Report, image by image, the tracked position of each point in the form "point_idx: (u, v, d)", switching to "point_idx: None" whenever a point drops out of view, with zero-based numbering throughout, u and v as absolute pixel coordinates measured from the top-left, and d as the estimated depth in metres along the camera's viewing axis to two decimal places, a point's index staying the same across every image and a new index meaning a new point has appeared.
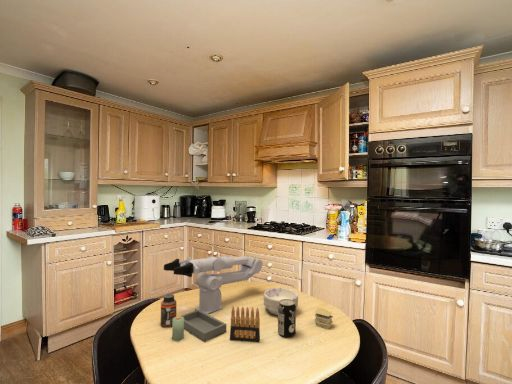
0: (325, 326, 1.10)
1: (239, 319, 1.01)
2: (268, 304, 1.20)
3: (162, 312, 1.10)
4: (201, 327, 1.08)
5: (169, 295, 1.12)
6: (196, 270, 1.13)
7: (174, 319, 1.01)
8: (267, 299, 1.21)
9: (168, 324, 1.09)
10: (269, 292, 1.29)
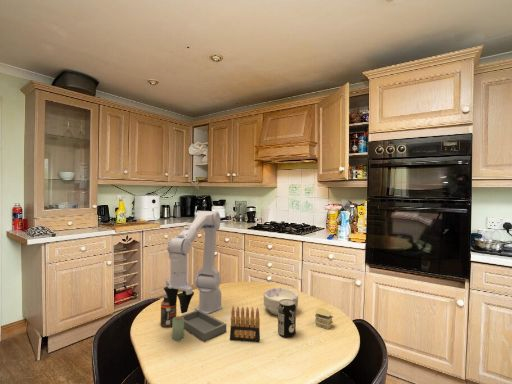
0: (325, 326, 1.10)
1: (239, 319, 1.01)
2: (268, 304, 1.20)
3: (162, 312, 1.10)
4: (201, 327, 1.08)
5: None
6: (189, 291, 0.97)
7: (174, 319, 1.01)
8: (267, 299, 1.21)
9: (168, 324, 1.09)
10: (269, 292, 1.29)
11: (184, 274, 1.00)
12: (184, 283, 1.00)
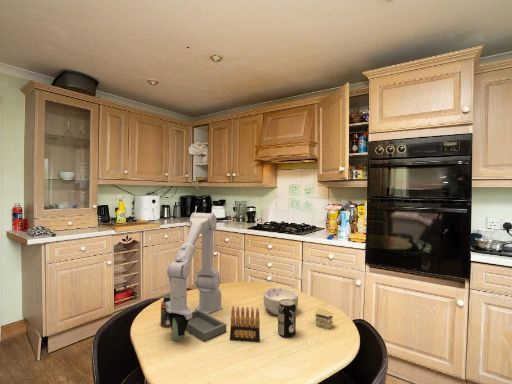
0: (325, 326, 1.10)
1: (239, 319, 1.01)
2: (268, 304, 1.20)
3: (162, 312, 1.10)
4: (201, 327, 1.08)
5: (169, 295, 1.12)
6: (189, 316, 0.97)
7: (174, 319, 1.01)
8: (267, 299, 1.21)
9: (168, 324, 1.09)
10: (269, 292, 1.29)
11: (184, 298, 1.00)
12: (184, 307, 1.00)
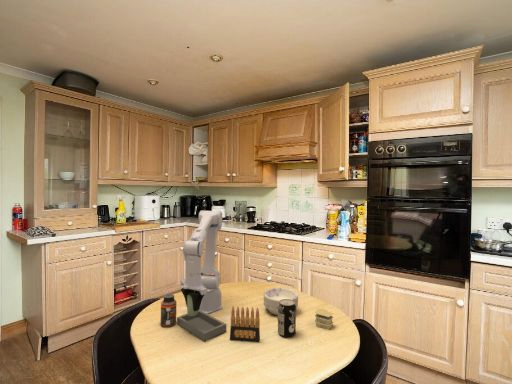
0: (325, 327, 1.10)
1: (239, 319, 1.01)
2: (268, 304, 1.20)
3: (162, 312, 1.10)
4: (201, 327, 1.08)
5: (169, 295, 1.12)
6: (204, 291, 1.01)
7: (189, 295, 1.06)
8: (267, 299, 1.21)
9: (168, 324, 1.09)
10: (269, 292, 1.29)
11: (198, 275, 1.05)
12: (198, 284, 1.05)
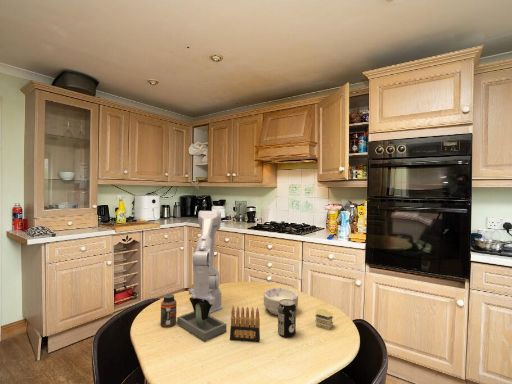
0: (325, 327, 1.10)
1: (239, 319, 1.01)
2: (268, 304, 1.20)
3: (162, 312, 1.10)
4: (201, 327, 1.08)
5: (169, 295, 1.12)
6: (213, 301, 1.04)
7: (197, 305, 1.08)
8: (267, 299, 1.21)
9: (168, 324, 1.09)
10: (269, 292, 1.29)
11: (207, 285, 1.08)
12: (207, 293, 1.08)
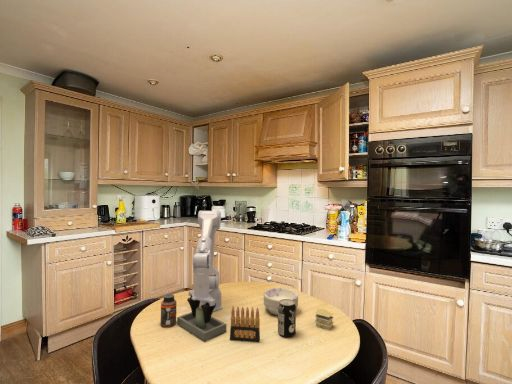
0: (325, 327, 1.10)
1: (239, 319, 1.01)
2: (268, 304, 1.20)
3: (162, 312, 1.10)
4: None
5: (169, 295, 1.12)
6: (213, 303, 1.04)
7: (197, 309, 1.08)
8: (267, 299, 1.21)
9: (168, 324, 1.09)
10: (269, 292, 1.29)
11: (207, 286, 1.08)
12: (207, 295, 1.08)
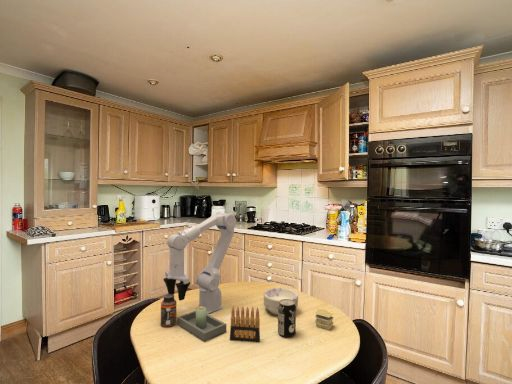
0: (326, 327, 1.09)
1: (239, 319, 1.01)
2: (268, 304, 1.20)
3: (162, 312, 1.10)
4: None
5: (169, 295, 1.12)
6: (186, 281, 1.10)
7: (197, 309, 1.08)
8: (267, 299, 1.21)
9: (168, 324, 1.09)
10: (269, 292, 1.29)
11: (181, 266, 1.14)
12: (181, 274, 1.14)
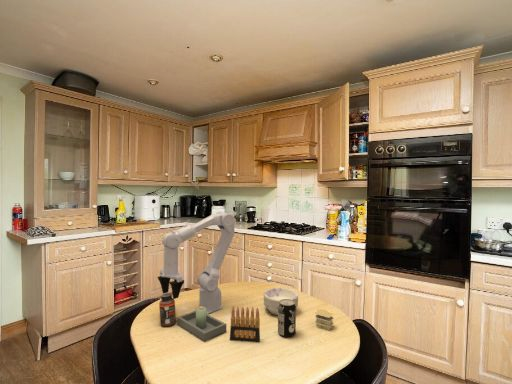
0: (326, 327, 1.09)
1: (239, 319, 1.01)
2: (268, 304, 1.20)
3: (161, 311, 1.10)
4: None
5: (167, 294, 1.13)
6: (180, 279, 1.12)
7: (197, 309, 1.08)
8: (267, 299, 1.21)
9: (168, 323, 1.10)
10: (269, 292, 1.29)
11: (175, 265, 1.16)
12: (175, 272, 1.16)
